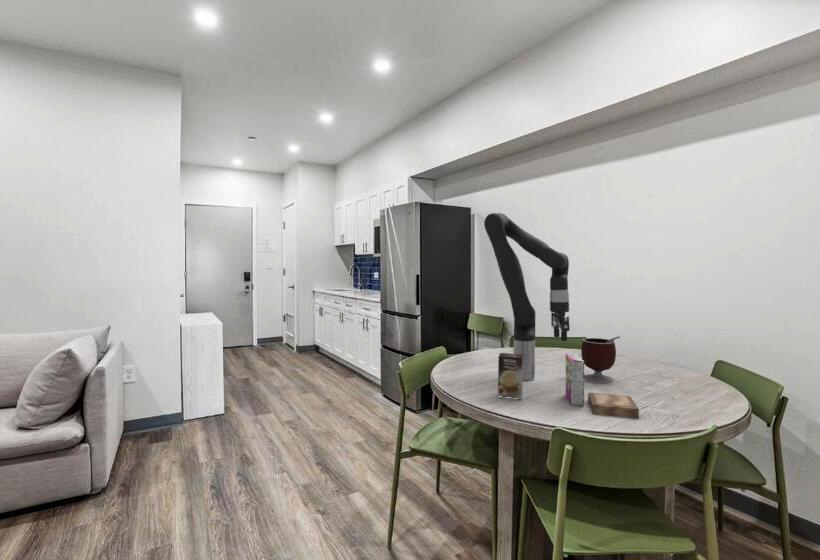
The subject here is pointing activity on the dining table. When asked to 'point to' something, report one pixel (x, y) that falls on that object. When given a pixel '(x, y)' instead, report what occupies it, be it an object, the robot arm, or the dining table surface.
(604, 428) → the dining table surface
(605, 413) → the walnut board
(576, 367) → the candy bar box
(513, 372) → the coffee box
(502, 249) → the robot arm
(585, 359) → the mate gourd
